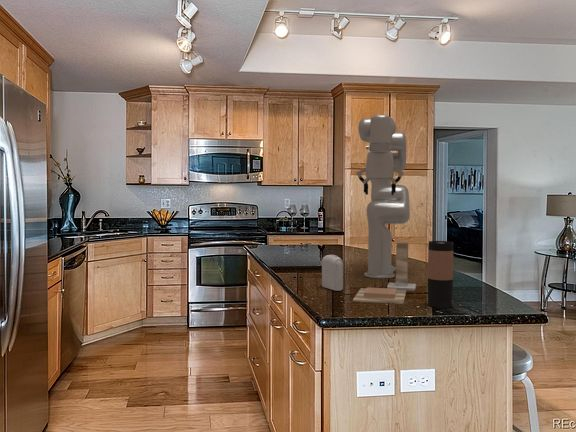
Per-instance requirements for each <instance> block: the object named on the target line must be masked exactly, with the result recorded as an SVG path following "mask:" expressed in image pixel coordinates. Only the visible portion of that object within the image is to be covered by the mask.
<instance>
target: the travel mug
mask: <svg viewBox="0 0 576 432" xmlns="http://www.w3.org/2000/svg"><path fill="white" fill-rule="evenodd" d="M427 248H428V249H427V251H428V254H427V305H428V306H429V307H430V308H437V309H449V307H450V308H452V304H453V289H454V287H453V286H454V242H453V241H448V240H446V241H445V240H430V241H428V247H427Z"/></svg>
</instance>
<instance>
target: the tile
mask: <svg viewBox="0 0 576 432" xmlns="http://www.w3.org/2000/svg"><path fill="white" fill-rule="evenodd" d="M365 289H366V290H365V292H364V298H381V299H395V296H396V290H397V289H389V288H387V287H386V288H385V287H371V286H370V287H366V288H365Z"/></svg>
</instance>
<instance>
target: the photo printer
mask: <svg viewBox="0 0 576 432" xmlns="http://www.w3.org/2000/svg"><path fill="white" fill-rule="evenodd" d="M321 286H322V288H326V289H328V290H331V291H334V292H337V291H339V292H340V291H342V290H344V261H343V260H342V258H341V257H339V256H338V255H335V254H327V255H325V256H323V258H322V260H321Z"/></svg>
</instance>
